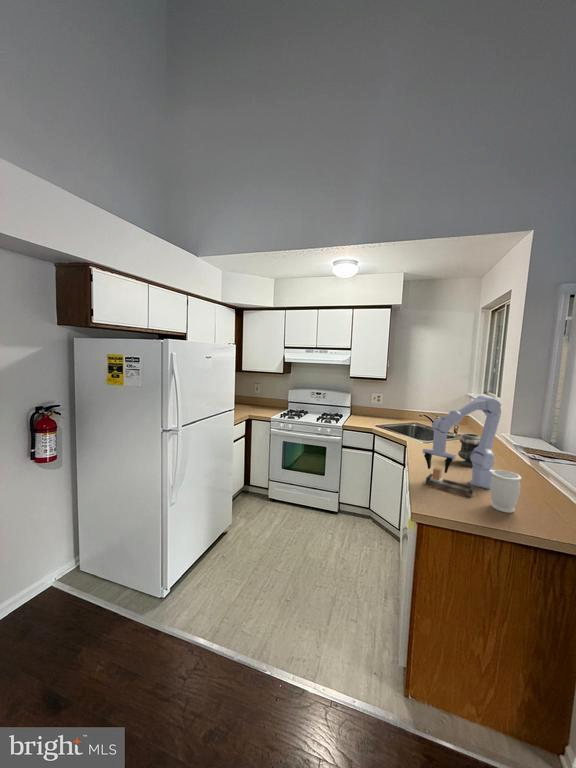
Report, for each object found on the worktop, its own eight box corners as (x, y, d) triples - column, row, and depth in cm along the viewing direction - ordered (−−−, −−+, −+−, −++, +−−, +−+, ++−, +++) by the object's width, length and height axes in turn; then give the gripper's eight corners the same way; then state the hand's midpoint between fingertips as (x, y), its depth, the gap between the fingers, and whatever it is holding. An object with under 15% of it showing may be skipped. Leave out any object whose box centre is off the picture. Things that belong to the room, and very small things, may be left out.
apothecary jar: (481, 463, 189) (483, 434, 187) (480, 469, 178) (483, 438, 177) (458, 459, 195) (460, 431, 193) (456, 465, 185) (459, 435, 183)
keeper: (443, 481, 156) (444, 468, 156) (440, 484, 153) (441, 471, 152) (432, 478, 160) (433, 465, 159) (429, 481, 156) (430, 468, 155)
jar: (518, 517, 127) (522, 481, 125) (488, 509, 132) (491, 475, 130) (516, 506, 136) (520, 472, 134) (488, 500, 141) (491, 467, 139)
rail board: (475, 491, 149) (475, 484, 149) (471, 498, 143) (471, 490, 142) (430, 479, 162) (431, 473, 162) (425, 485, 155) (425, 478, 155)
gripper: (421, 442, 156) (419, 468, 157) (453, 448, 146) (451, 476, 148) (426, 439, 161) (424, 465, 162) (457, 445, 152) (455, 472, 153)
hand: (437, 470), depth 155 cm, fingers open, 7 cm apart
